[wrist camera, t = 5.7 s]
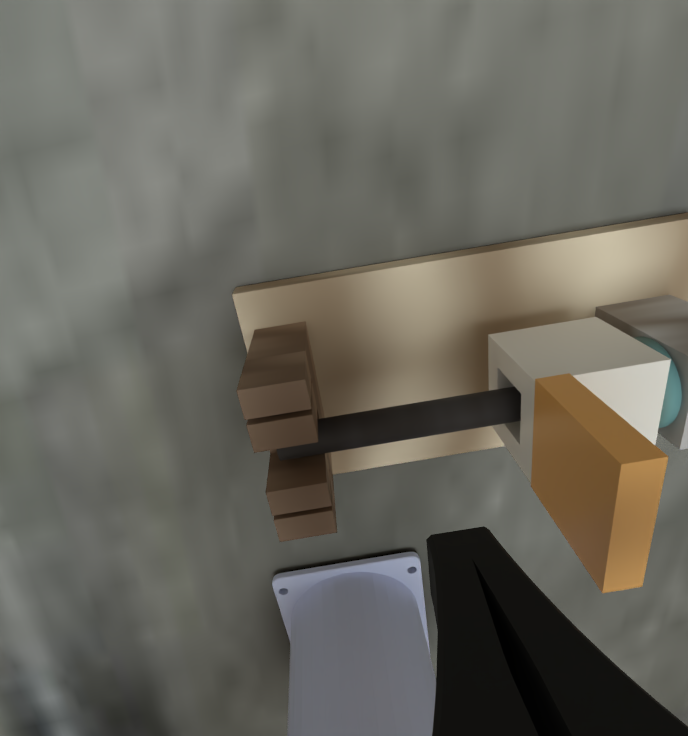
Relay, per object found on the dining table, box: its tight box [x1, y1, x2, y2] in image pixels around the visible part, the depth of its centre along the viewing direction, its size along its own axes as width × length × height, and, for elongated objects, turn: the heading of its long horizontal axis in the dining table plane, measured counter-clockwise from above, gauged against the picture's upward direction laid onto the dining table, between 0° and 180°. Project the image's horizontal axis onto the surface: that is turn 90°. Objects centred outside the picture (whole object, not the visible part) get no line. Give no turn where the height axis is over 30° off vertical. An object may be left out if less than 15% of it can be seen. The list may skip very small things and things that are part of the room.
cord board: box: [232, 213, 688, 542], centre depth 17 cm, size 18×9×6 cm, turn 98°
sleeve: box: [488, 317, 671, 593], centre depth 14 cm, size 4×4×8 cm
